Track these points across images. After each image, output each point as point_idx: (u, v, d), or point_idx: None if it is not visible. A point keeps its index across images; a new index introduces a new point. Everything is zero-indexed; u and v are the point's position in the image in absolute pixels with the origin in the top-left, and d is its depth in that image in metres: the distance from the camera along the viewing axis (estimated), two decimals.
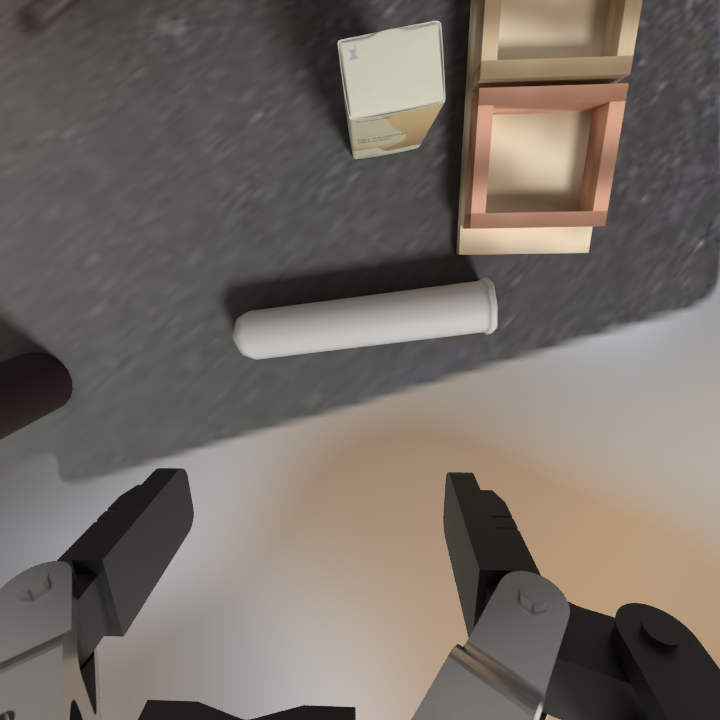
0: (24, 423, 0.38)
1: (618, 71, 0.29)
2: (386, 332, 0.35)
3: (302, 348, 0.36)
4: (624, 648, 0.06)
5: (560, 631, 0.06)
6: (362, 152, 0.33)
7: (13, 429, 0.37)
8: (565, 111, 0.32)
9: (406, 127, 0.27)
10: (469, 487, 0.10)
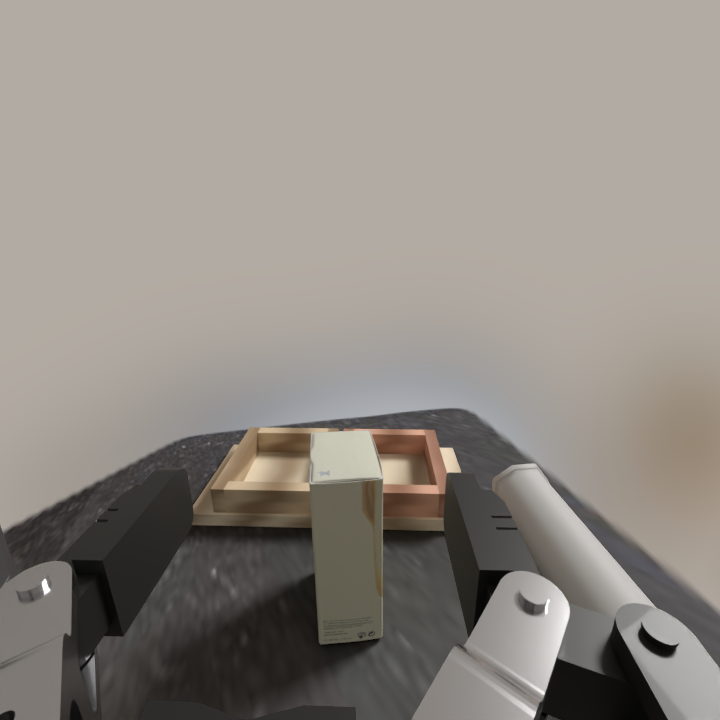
0: None
1: None
2: (598, 553, 0.26)
3: None
4: (624, 648, 0.06)
5: (560, 631, 0.06)
6: None
7: None
8: None
9: None
10: (469, 487, 0.10)
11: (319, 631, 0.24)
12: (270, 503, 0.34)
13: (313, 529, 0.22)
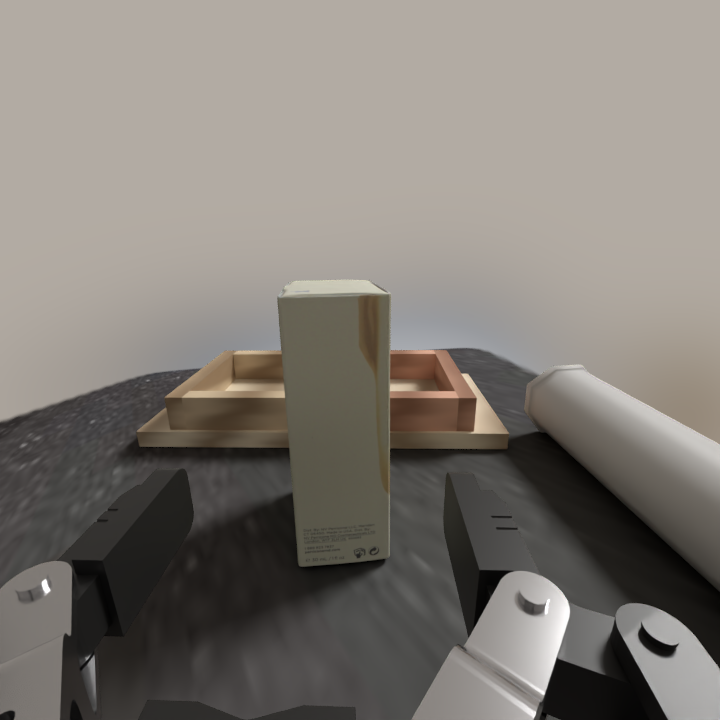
0: None
1: None
2: (693, 438, 0.18)
3: None
4: (624, 648, 0.06)
5: (560, 631, 0.06)
6: None
7: None
8: None
9: None
10: (469, 487, 0.10)
11: (298, 546, 0.17)
12: (242, 416, 0.27)
13: (285, 377, 0.15)
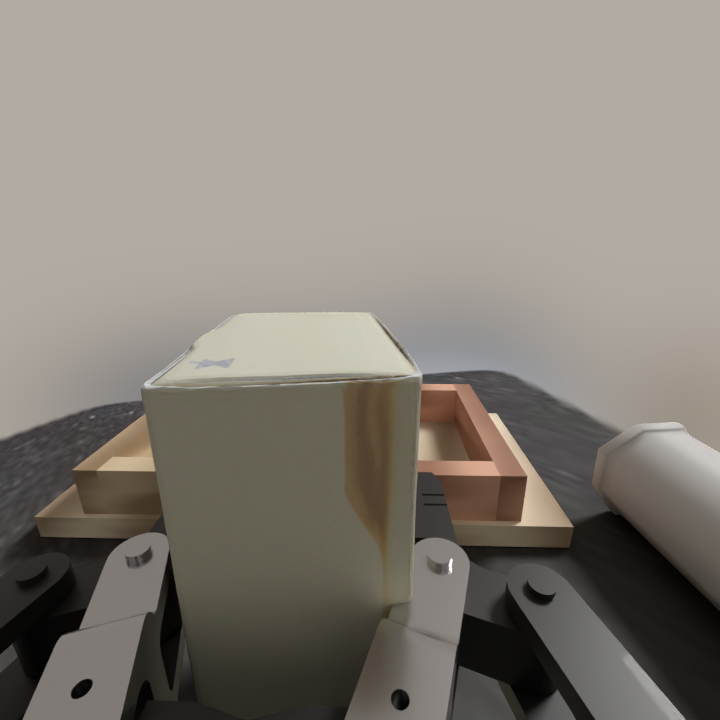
0: None
1: None
2: None
3: None
4: (517, 608, 0.07)
5: (455, 585, 0.07)
6: None
7: None
8: None
9: None
10: None
11: None
12: None
13: (174, 561, 0.06)
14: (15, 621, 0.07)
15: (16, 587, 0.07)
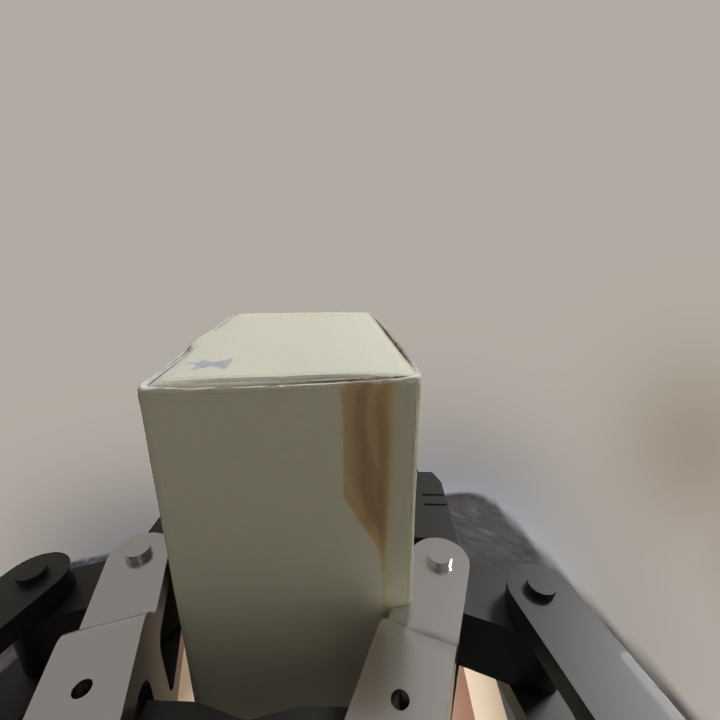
0: None
1: None
2: None
3: None
4: (516, 608, 0.07)
5: (455, 585, 0.07)
6: None
7: None
8: None
9: None
10: None
11: None
12: None
13: (171, 563, 0.06)
14: (15, 621, 0.07)
15: (16, 587, 0.07)
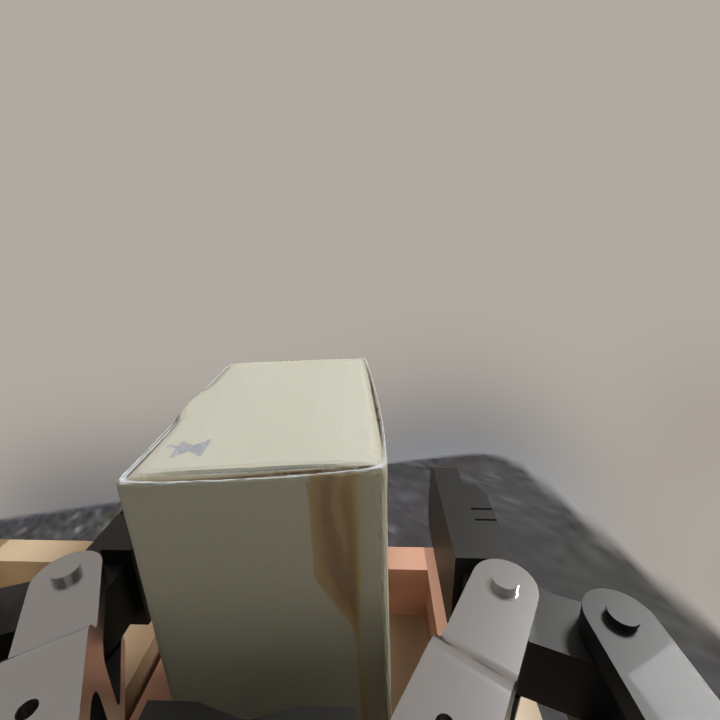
0: None
1: None
2: None
3: None
4: (591, 633, 0.07)
5: (528, 613, 0.07)
6: None
7: None
8: None
9: None
10: (451, 480, 0.11)
11: None
12: None
13: (156, 634, 0.07)
14: None
15: None
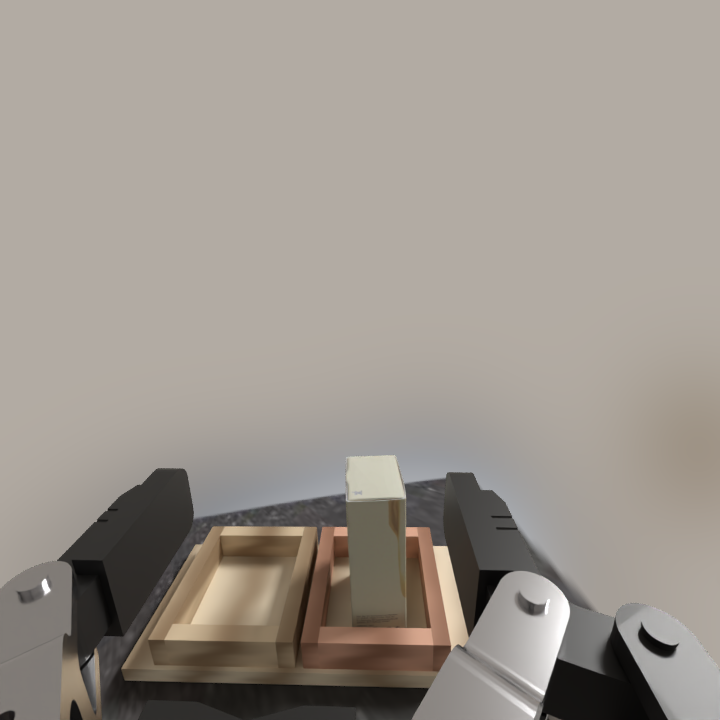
0: None
1: (313, 533, 0.37)
2: None
3: None
4: (624, 648, 0.06)
5: (560, 631, 0.06)
6: None
7: None
8: (332, 574, 0.35)
9: None
10: (469, 487, 0.10)
11: (353, 624, 0.29)
12: (223, 655, 0.27)
13: (349, 538, 0.27)
14: None
15: None
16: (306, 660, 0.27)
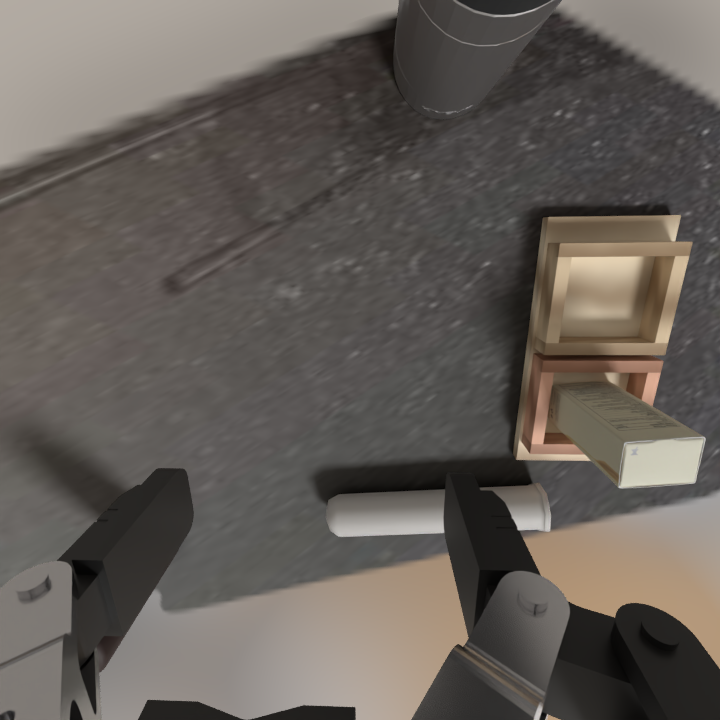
0: (152, 590, 0.45)
1: (655, 352, 0.37)
2: None
3: (385, 534, 0.43)
4: (624, 648, 0.06)
5: (560, 631, 0.06)
6: None
7: (146, 600, 0.44)
8: None
9: None
10: (469, 487, 0.10)
11: (556, 389, 0.40)
12: (545, 300, 0.37)
13: (601, 424, 0.32)
14: None
15: None
16: (536, 358, 0.39)
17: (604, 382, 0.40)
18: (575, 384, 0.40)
